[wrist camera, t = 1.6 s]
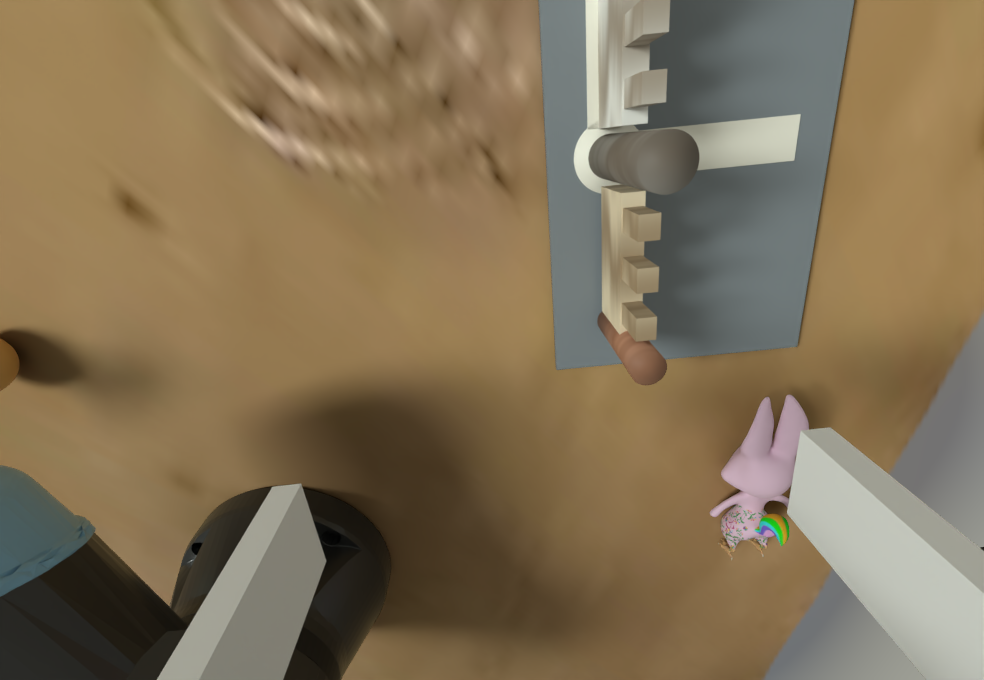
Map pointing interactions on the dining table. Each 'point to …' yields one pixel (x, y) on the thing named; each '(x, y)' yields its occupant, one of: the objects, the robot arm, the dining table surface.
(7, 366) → the figurine
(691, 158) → the white fence section
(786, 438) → the rabbit figure
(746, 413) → the dining table surface
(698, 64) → the board
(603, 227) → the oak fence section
